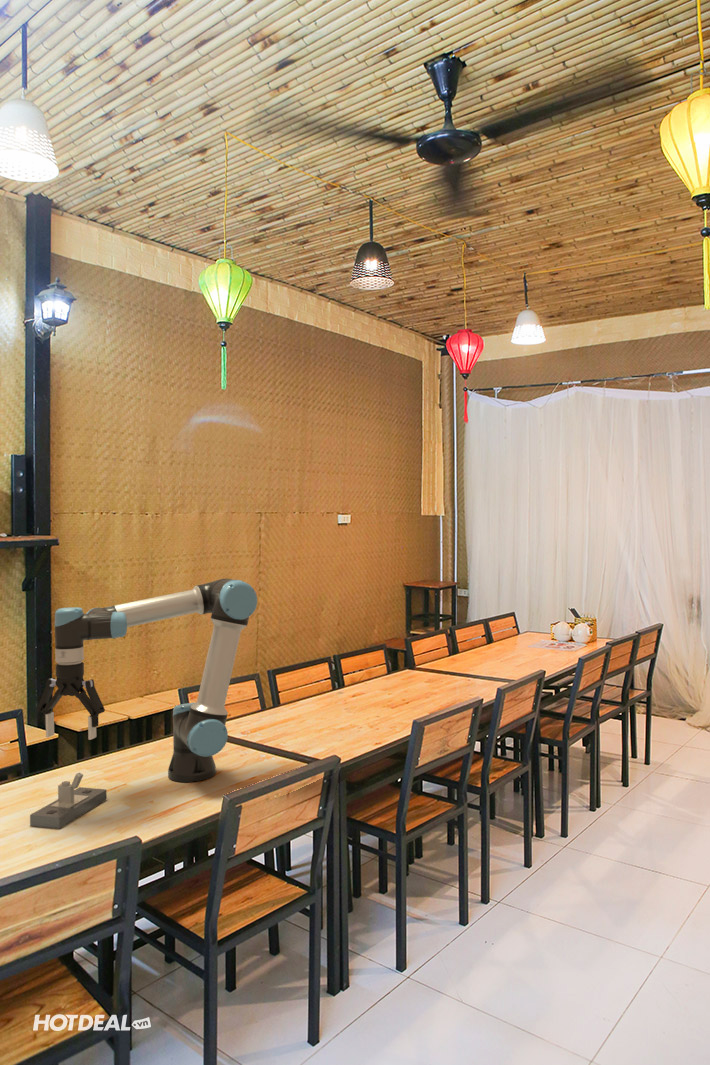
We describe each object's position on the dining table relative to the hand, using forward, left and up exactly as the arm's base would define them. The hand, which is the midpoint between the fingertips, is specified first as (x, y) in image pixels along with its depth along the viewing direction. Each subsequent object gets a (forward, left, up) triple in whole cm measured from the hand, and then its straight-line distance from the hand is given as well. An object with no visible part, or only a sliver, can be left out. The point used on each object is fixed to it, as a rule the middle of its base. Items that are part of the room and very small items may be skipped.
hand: (71, 737), depth 210 cm
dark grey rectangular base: (0, +1, -21) cm, 21 cm away
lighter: (-1, +1, -18) cm, 18 cm away
